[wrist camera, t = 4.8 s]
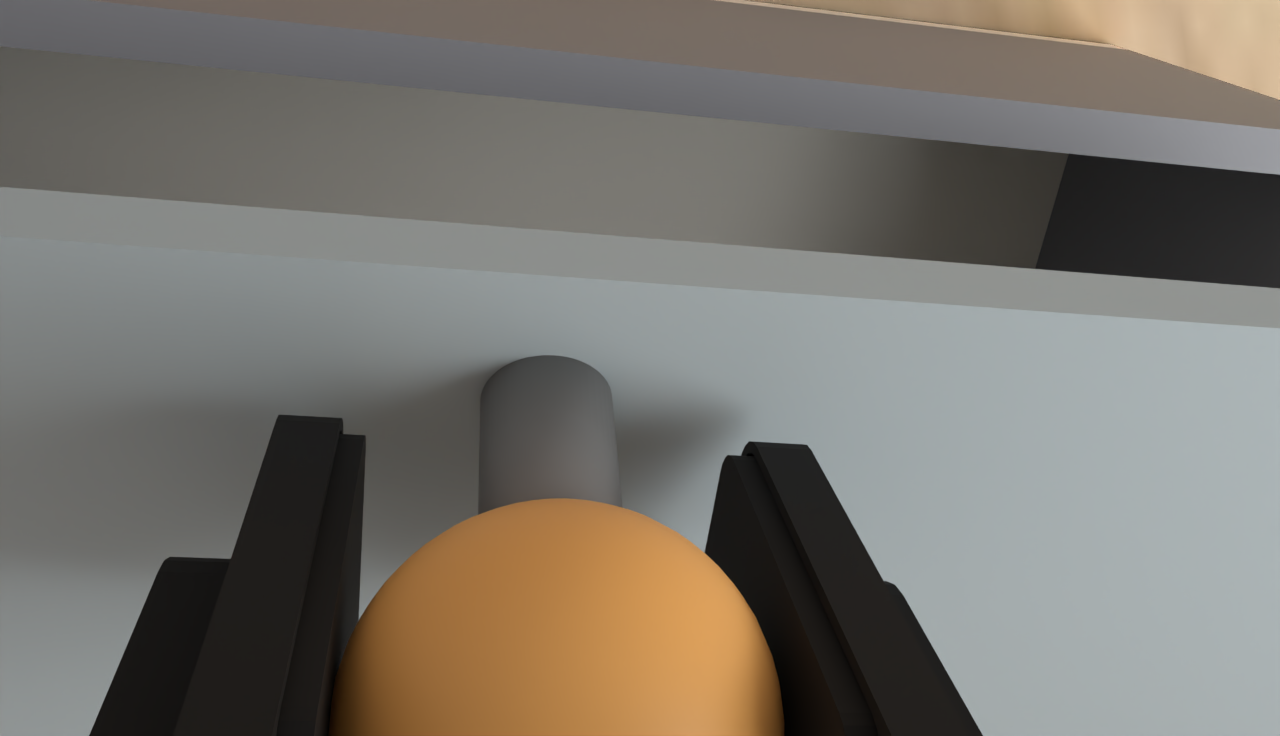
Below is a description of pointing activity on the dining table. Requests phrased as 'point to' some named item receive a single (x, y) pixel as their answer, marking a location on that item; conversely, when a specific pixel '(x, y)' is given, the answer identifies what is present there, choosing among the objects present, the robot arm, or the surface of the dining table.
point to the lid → (637, 464)
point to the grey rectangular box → (654, 127)
